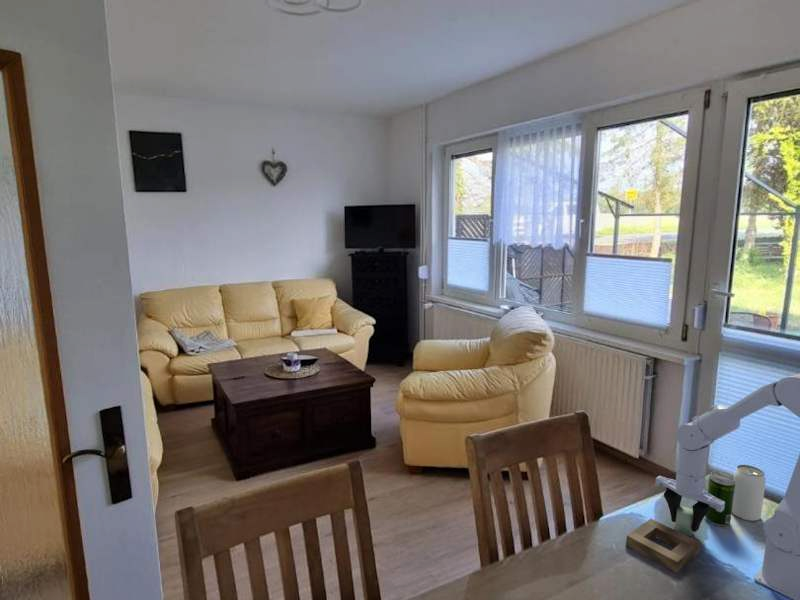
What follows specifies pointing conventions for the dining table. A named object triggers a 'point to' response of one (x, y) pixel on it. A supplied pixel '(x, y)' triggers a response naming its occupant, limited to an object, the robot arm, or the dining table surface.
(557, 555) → the dining table surface
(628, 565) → the dining table surface
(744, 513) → the can
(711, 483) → the beer can
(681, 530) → the peg
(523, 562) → the dining table surface
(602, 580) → the dining table surface
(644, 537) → the socket
